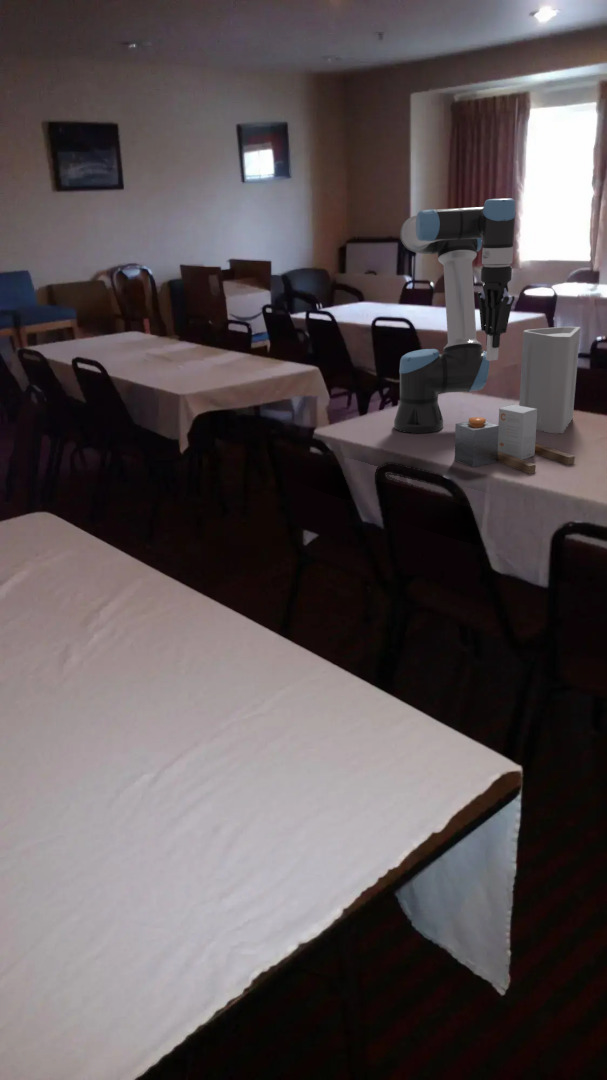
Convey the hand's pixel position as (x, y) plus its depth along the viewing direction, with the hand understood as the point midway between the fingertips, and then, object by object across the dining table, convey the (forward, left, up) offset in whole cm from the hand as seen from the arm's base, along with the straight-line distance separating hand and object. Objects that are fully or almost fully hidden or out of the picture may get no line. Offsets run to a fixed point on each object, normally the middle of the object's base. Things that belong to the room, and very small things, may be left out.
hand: (492, 359), depth 211 cm
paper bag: (-16, +34, -26) cm, 45 cm away
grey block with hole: (+3, -6, -26) cm, 27 cm away
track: (+9, +6, -26) cm, 28 cm away
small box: (+5, +6, -26) cm, 27 cm away
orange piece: (+3, -6, -21) cm, 22 cm away
